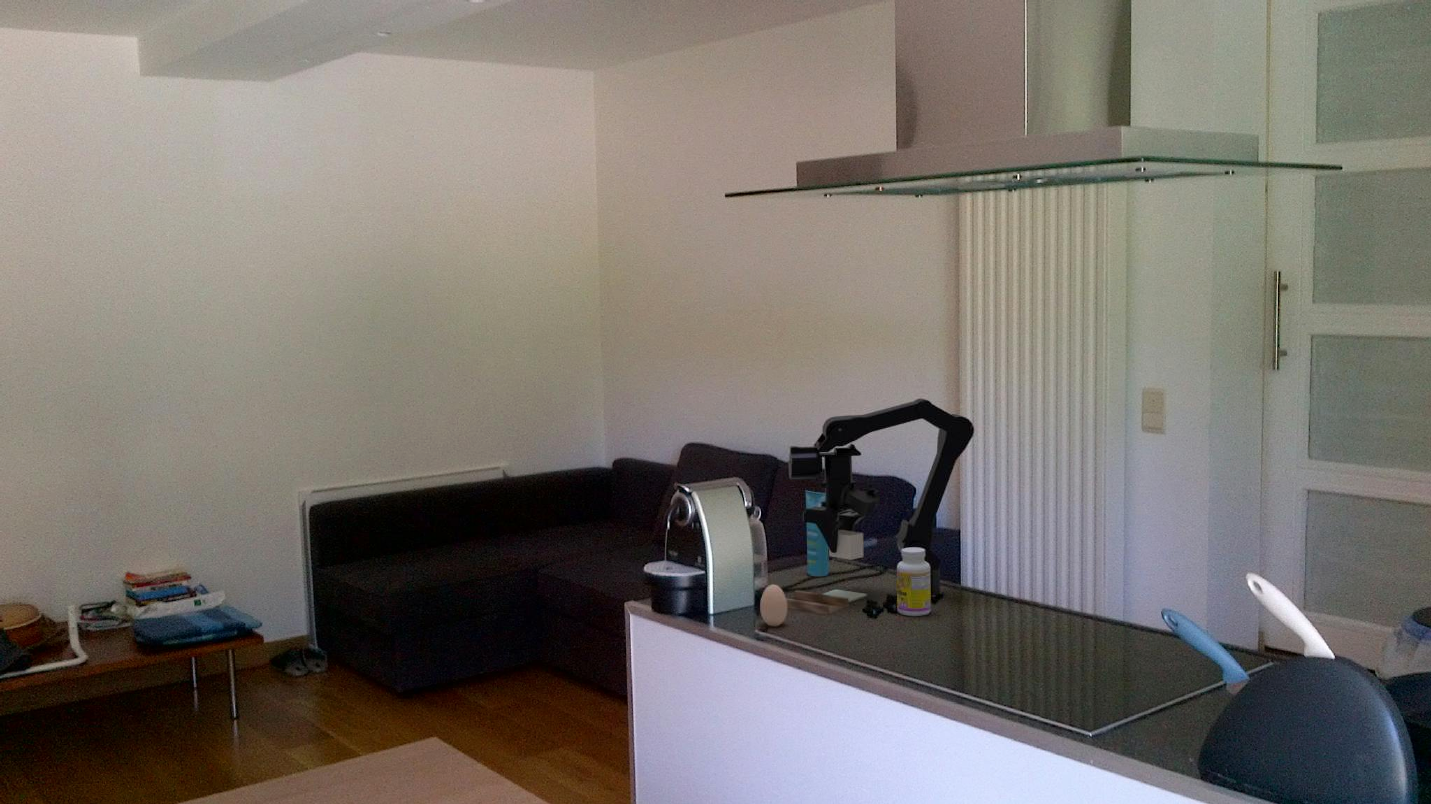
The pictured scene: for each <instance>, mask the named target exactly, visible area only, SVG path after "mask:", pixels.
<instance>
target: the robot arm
mask: <svg viewBox="0 0 1431 804" xmlns="http://www.w3.org/2000/svg"><path fill="white" fill-rule="evenodd" d="M918 420H924V421H926V422H928V423H929V424H930V425H933V426H934V427H936V428H938V434H937V435H938V436H937V445H936V455H935V458H934V460H933V463H932V465H931V468H930V471H929V473H928V476H927V479H926V481H925V484H924V487H923V490H922V493H921V495H920V498H919V500H918V503H917V506H916V510H915V511H914V514H913V516H912V517H911V518H910V519H909V520H908V521H907V520H905V519H902V521H901V523H900V528H899V531H898V533H897V534H896V535H895V538H896V539H897V542H896V545H897V548H898V550H899V552H900V553H902V549H904V548H911V547H916V548H923V549H925V557H924V561H926V562H928V563H929V565H930V586H931V595H932V594H936V593H942V594H941V595H943V594H945V591H944V590H941V572H940V571H941V564H942V560H941V559H940V558H939V557H938V556H937V554H936V553H934V552H933V551H932V550H931V548H932V543H933V538H934V537H933V534H934V533H933V532H934V522H935V519H936V517H937V513H938V510H939V508H940V505H941V503H942V500H943V497H944V495H945V492H946V489H947V487H948V484H949V481H950V478H951V476H952V473H953V470H954V468H955V465H956V462H957V461H958V459H959V458H960V456H961V455H962V454H963V453H964V452H965V450H966V448H968V446H969V443H970V442H971V440H972V438H973V437H974V433H975V426H974V425H973V422H972V421H971V420H970V419H969V418H968V417H965V416H963V415H960V414H958V413H957V414H956V413H952V414H951V413H949V412H947V411H945V410H944V409H941V408H940V407H938V406H937V405H936V404H933V403H932V402H931V401H930V400H928V399H926V398H922V397H921V398H917V399H915V400H913V401H910V402H905V403H901V404H899V405H895V406H891V407H886V408H883V409H880V410H877V411H876V410H875V411H873V412H869V413H864V414H857V415H856V414H855V415H853V414H852V415H851V414H849V415H837V416H831V417H829V418H827V419H826V420H825V421H824V423H823V425H822V433H821V434H820V436H819V437H818V438H817V440H816V441H815V443H814V444H813V446H797V445H795V446H792V445H791V446H790V447H789V457H788V458H789V459H788V475H789V477H788V478H789V479H790V480H802V479H804V480H805V479H818V476H819V475H821V474H822V473H823V470H824V481H823V482H822V481H821V482H820V488H824V493H825V501H823V502H821V507H816V506H815V507H811V508H807V509H806V508H805V510H804V511H802V522H803V523H806V524H807V523H814V524H816V525H817V527H818V528H819V530H820V532H821V533H822V535H823V537H824V539H825V541H826V543H827V545H828V550H829V549H830V551H831V552H832V553H836V552H837V542H838V531H839V530H846V531H852V532H855V529H856V526H857V524H858V523H859V522H860V521H862V519H864V518H865V517H866V516H868V515H874V514H875V511H876V507H877V506H880V505H881V501H880V499H881V497H880V491H879V490H878V489H875V488H870V489H868V490H867V491H866V490H863V491H862V490H860V489H859V488H858V483H857V481H854V480H853V460H852V458H853V457H859V456H861V455H862V452H861V451H859V450H858V449H857V447H856V446H855V444H854V443H853V442H855V441H858V440H859V439H861V438H863V437H864V436H866V435H868V434H870V433H873V432H878V431H881V430H885V429H888V428H893V427H896V426H899V425H903V424H907V423H910V422H914V421H918ZM848 444H849V445H848ZM846 445H848V446H847V447H844V446H846ZM832 450H833V451H832ZM823 458H824V461H823ZM823 462H824V469H823ZM826 507H827V508H826Z"/></svg>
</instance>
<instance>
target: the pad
mask: <svg viewBox="0 0 1431 804" xmlns="http://www.w3.org/2000/svg"><path fill="white" fill-rule="evenodd" d="M822 594H824V595H831V596H837V597H843V598H848V599H849V603H851V602H853V601H857V600H859V599H862V598H865V597H867V596H868V594H867V593H862V592H854V591H850V590H849V591H848V590H844V589H836V588H835V589H832V590H830V591H826V592H824V593H822Z"/></svg>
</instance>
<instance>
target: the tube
mask: <svg viewBox="0 0 1431 804" xmlns="http://www.w3.org/2000/svg"><path fill="white" fill-rule="evenodd" d="M823 501H825V492H815V491H811V490H805V506H806V507H805V510H806V509H807V508H811V507H815V506H816V507H821V502H823ZM826 508H827V507H826ZM806 548H807V549H806V550H807V551H806V552H807V553H806V554H807V556H806V558H807V559H806V560H807V561H806V562H807V563H806V564H807V566H806V567H807V568H806V569H807V573H808V574H810V575H811V576H810V575H809V576H810V577H826V576H829V573H830V571H829V568H830V567H829V565H830V564H829V547H828V545H827V543H826V541H825V539H824V537H823V535H822V533H821V532H820V530H819V528H818V527H817V525H816V524H814V523H806ZM808 574H807V575H808Z"/></svg>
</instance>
